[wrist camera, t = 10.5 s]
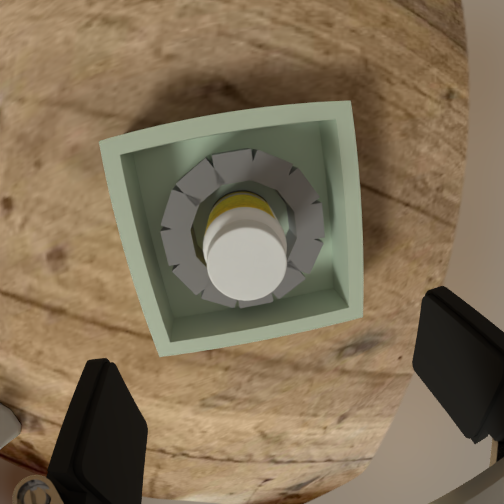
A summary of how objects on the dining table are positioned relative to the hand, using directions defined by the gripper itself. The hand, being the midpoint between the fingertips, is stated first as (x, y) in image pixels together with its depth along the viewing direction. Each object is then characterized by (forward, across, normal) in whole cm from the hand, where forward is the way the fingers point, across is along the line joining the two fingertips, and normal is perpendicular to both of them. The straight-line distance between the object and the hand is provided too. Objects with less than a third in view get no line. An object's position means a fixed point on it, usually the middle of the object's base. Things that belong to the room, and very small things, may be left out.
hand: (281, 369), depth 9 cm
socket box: (+17, -1, 0) cm, 17 cm away
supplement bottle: (+16, -1, 0) cm, 16 cm away
